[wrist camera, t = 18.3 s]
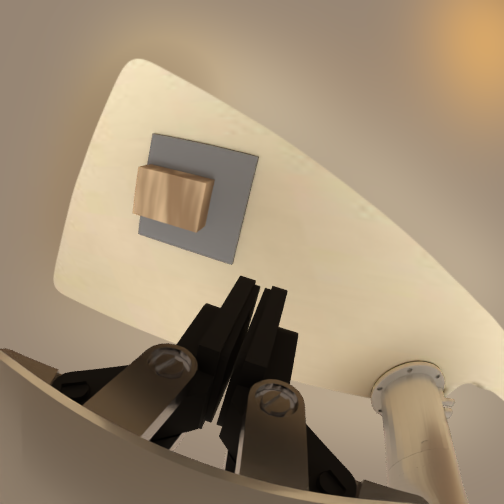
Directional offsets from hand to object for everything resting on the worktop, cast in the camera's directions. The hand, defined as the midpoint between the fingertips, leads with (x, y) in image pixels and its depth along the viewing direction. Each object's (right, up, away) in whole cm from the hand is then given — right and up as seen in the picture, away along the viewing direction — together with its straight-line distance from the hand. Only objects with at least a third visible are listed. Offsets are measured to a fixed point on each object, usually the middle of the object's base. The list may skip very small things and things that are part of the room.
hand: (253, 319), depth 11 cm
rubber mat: (-8, +9, +28) cm, 30 cm away
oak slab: (-6, +8, +26) cm, 28 cm away
